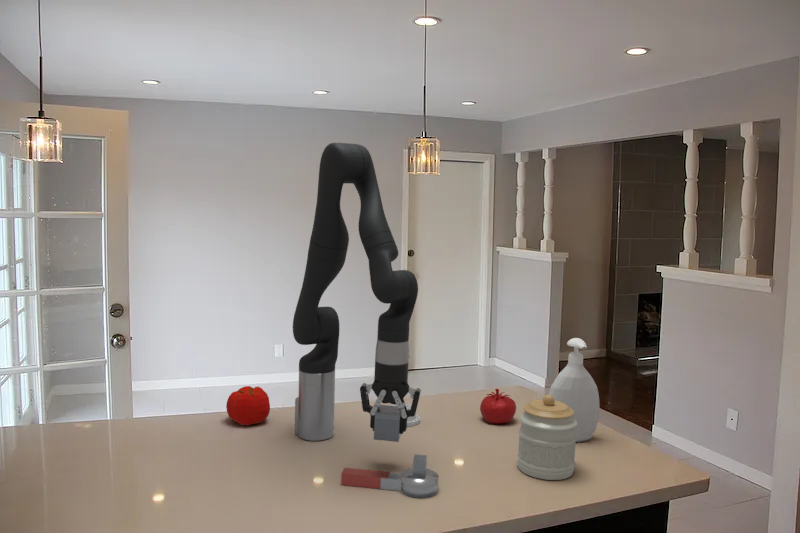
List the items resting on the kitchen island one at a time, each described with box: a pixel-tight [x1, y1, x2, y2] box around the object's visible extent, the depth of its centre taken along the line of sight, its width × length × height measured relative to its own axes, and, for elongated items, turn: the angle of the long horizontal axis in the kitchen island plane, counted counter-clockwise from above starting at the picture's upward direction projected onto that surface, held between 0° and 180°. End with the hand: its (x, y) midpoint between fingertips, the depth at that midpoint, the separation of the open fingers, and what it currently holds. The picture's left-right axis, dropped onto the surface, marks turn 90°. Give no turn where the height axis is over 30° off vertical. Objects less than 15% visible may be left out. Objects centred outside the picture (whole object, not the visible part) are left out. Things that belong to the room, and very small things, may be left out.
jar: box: [516, 393, 577, 481], centre depth 144 cm, size 13×13×18 cm
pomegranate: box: [479, 388, 517, 425], centre depth 177 cm, size 10×10×9 cm
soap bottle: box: [548, 337, 601, 443], centre depth 163 cm, size 14×8×27 cm, turn 99°
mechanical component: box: [389, 402, 421, 428], centre depth 175 cm, size 10×4×10 cm
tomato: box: [225, 385, 271, 426], centre depth 170 cm, size 11×12×9 cm
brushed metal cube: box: [373, 404, 402, 443], centre depth 143 cm, size 6×6×6 cm
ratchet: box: [340, 453, 440, 499], centre depth 133 cm, size 20×8×7 cm, turn 81°
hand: (388, 431), depth 143 cm, fingers closed on brushed metal cube, 5 cm apart
